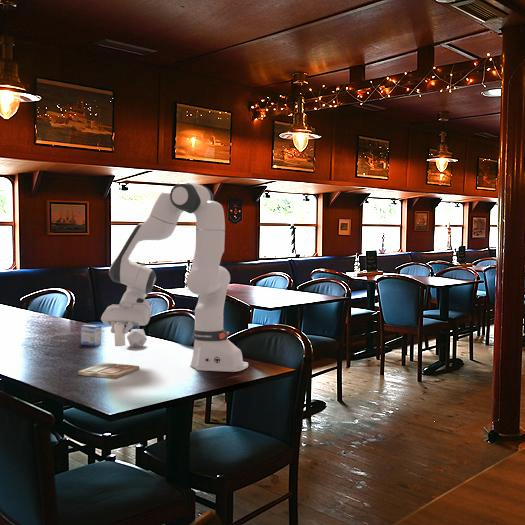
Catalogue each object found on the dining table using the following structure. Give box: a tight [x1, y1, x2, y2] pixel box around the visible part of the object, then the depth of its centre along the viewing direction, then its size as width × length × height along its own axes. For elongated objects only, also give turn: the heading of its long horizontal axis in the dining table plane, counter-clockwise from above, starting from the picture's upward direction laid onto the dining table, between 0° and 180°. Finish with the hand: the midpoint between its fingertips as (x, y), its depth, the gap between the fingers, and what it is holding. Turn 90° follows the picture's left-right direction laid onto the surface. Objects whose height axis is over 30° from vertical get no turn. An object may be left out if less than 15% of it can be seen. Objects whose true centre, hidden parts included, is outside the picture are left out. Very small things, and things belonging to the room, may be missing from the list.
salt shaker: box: [113, 322, 126, 347], centre depth 247 cm, size 4×4×9 cm
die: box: [126, 328, 148, 348], centre depth 282 cm, size 8×9×10 cm
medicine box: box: [80, 324, 102, 346], centre depth 286 cm, size 8×4×9 cm, turn 68°
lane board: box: [77, 362, 140, 380], centre depth 233 cm, size 16×16×2 cm
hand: (118, 332), depth 246 cm, fingers closed on salt shaker, 4 cm apart
